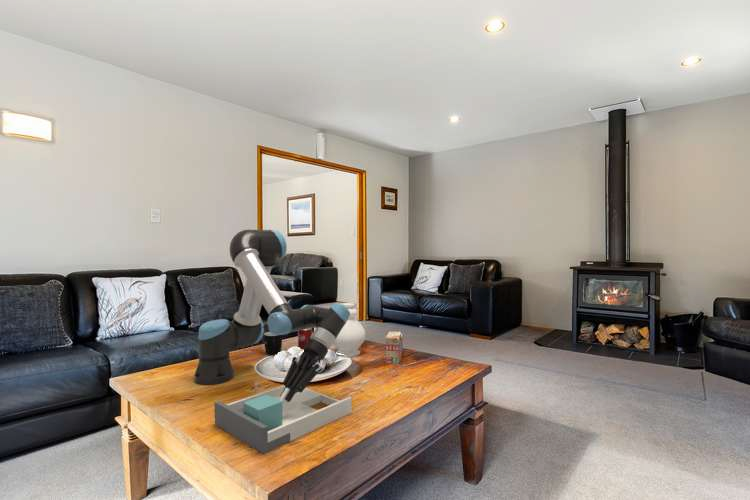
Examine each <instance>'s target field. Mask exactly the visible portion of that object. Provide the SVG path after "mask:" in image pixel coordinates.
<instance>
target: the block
mask: <svg viewBox="0 0 750 500" xmlns="http://www.w3.org/2000/svg"><path fill="white" fill-rule="evenodd" d="M243 414H245V415H247V416H249V417H251V418H253V419H255V420H257V421H259V422H260V423H262V424H264V425H266V426H268V431H269V430H272V429H274V428H276V427H279V426H281V425H283V423H282V401H280V400H278V399H276V398H273V397H271V396H269V395H264V396H261V397H258V398H255V399H252V400H249V401H247V402H244V403H243Z"/></svg>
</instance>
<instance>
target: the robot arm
mask: <svg viewBox="0 0 750 500" xmlns="http://www.w3.org/2000/svg"><path fill="white" fill-rule="evenodd" d="M287 250H288V249H287V241H286V238H285V236H284V235H283V234H282V232H280V231H279V230H274V229H273V230H272V229H244V230H241V231H239V232H237V233H236V234H235V235H234V236H233V237H232V239H231V241H230V244H229V254H230V258H231V260H232V262H233V264H234V265H235V267H236V268H239V269H240V270H241V272H242V273H243V275H244V276H245V278H246V281H245V285H244V289H243V294H242V296H241V302H240V305H239V309H238V311H237V312H235V313H234V315H233V318H232V321H229V320H228V319H225V318H223V319H222V318H221V319H212V320H209V321H207V322H204V323H202V324H201V325H200V326H199V328H198V336H197V339H198V363H197V366H196V369H195V372H194V376H193V378H194V383H196V384H198V385H206V386H207V385H219V384H223V383H225V382H228V381H231V380H233V379H234V377H235V369H234V367H233V365H232V362H231V358H230V351H231V350H236V349H240V348H243V347H250V346H253V345H255V344H258V343H259V342H260V341H261V340H262V338H264V334H265V329H264V326H265V324H264V322H263V320H262V317H261V316H260V313H261V309H262V306H263V307H264V309H265V311H266V312H267V314H268V315H269V316H268V317H267V321H266V322H267V323H266V324H267V326H268V332H271V333H272V334H274V335H282V336H283V335H288V334H290V333H294V332H298V331H300V330H305V329H309V328H312V329H314V328H315V330H314V331H313V332H312V336H311V339H309V341H308V342H307V344H306V345H305V347H304V352H303V353H300V356H298V357H296V356H293V357H292V359H291V364H290V366H289V368H288V370H287V373H286V375H285V378H284V379H283V382H282V384H283V386H284V385H285V389H284V390H283V392H282V394H281V395H280V398H279V400H280V401H282V412H283V410H284V409H285V407H286V405H287V404H288V402H290V401H291V399H292V398H293V396H294V394H295V393H297V392H300V393H301V392H302V391H303V390H304V389H305V388H307V387H308V385H309V384H310V383H311V382H312V381H313V380H314V378H315V377H316V376H317V375H318V374H319V373H320V372H322V371H323V367H322V366H321V364H320V363H321V361H323V360H324V359H325V357H326V356H327V354H328V352H329V350H330V349H331V347H333V345H334V344H333V343H334V341H335V339H336V338H337V336H338V334H339V333H340V331H341V330H342V328H343V327H344V325H345V324H346V322H347V320H348V318H349V316H350V312H349V310H348V309H347V308H346V307H345V306H344V305H342V304H341V303H339V302H334V303H332V304H331V305H329V308H328V307H321V306H318V305H317V306H316V305H314V304H304V305H303V306H301V307H300V308H296V309H293V308H292V307H291V306H290V304H289V303H288V301H287V299H286V297H284V295H283V294H282V292H281V290H280V289H279V287H278V286H277V284H276V282H275V281H274V279H273V278H272V276H271V270H272V268H274V267H276V266H277V264H278V259H282V258H283V257H285V255H286V253H287ZM300 387H301V388H300Z"/></svg>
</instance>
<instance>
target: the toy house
mask: <svg viewBox="0 0 750 500" xmlns="http://www.w3.org/2000/svg"><path fill="white" fill-rule="evenodd" d="M403 343H404V339H403V333H402V332H401V331H388V334H387V335H386V336H385V364H392V365H393V364H395V365H399V364H400V362H401V358H402V355H403V352H404V351H403V347H404V346H403V345H404V344H403Z"/></svg>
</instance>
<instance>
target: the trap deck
mask: <svg viewBox="0 0 750 500" xmlns="http://www.w3.org/2000/svg"><path fill="white" fill-rule="evenodd" d="M300 388H301V387H300ZM284 389H285V385H284V384H283V385H280V386H278V387H274V388H272V389H269V390H265V391H263V392H260V393H257V394H254V395H251V396H249V397H248V396H247V397H245V398H241V399H239V400H236V401H233V402H230V403H228V404H226V403H224V402H222V401H221V400H217V401H214V425H215V426H217V428H220V429H221V430H223V431H225V432H226V433H228V434H230V435H231V436H232V437H234V438H236V439H237V440H239V441H241V442H243V443H244V444H246V445H247V446H248V447H250V448H252V449H254V450H255V451H257V452H259V453H260V454H262V455H264V454H266V453H268V452H271V451H273V450H275V449H277V448H279V447H281V446H283V445H286V444H288V443H290V442H292V441H294V440H296V439H298V438H300V437H302V436H304V435H307V434H309V433H311V432H313V431H316V430H318V429H320V428H322V427H324V426H326V425H328V424H330V423H333V422H334V421H337V420H339V419H340V418H343V417H345V416H347V415H350V414H351V413H352V411H353V410H352V409H353V408H352V405H353V403H352V397H351V396H348V397H346V398H343V399H341V400H339V399H336V398H334V397H332V396H328V395H326V394H323V393H320V392H318V391H315V390H313V389H311V388H307V387H306V388H305V389H304V390H303V391H302V392H301V393H300V392H297V393H295V394H294V396H293V398H292V399H291V401H290V402H288V404H287V405H286V407H285V409H284V410H283V412H282V423H283V425H281V426H279V427H276V428H274V429H272V430H269V431H268V426H266V425H264V424H262V423H260V422H259V421H257V420H255V419H253V418H251V417H249V416H247V415H245V414H243V403H244V402H247V401H249V400H252V399H255V398H258V397H261V396H264V395H269V396H271V397H273V398H276V399H278V400H279V398H280V395H281V394H282V392H283V390H284ZM320 403H323V404H324V405H327V406H325V407H321V408H320V409H315V408H313V407H312V406H315V405H318V404H320Z"/></svg>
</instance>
